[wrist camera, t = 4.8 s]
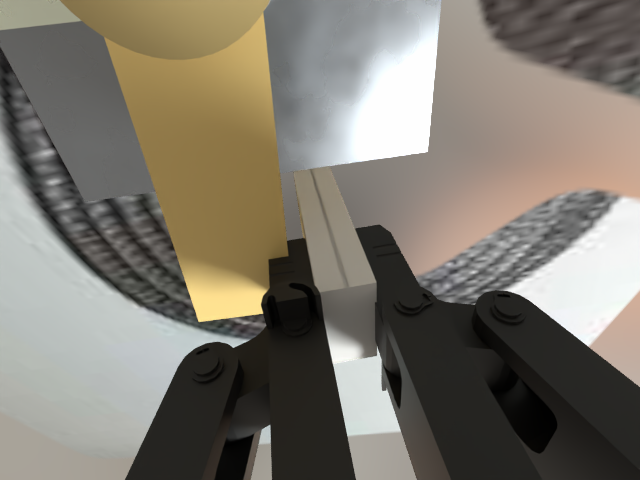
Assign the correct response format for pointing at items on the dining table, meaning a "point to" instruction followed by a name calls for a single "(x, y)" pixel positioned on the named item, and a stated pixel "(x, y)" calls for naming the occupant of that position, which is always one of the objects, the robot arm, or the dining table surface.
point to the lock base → (285, 76)
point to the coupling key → (203, 136)
